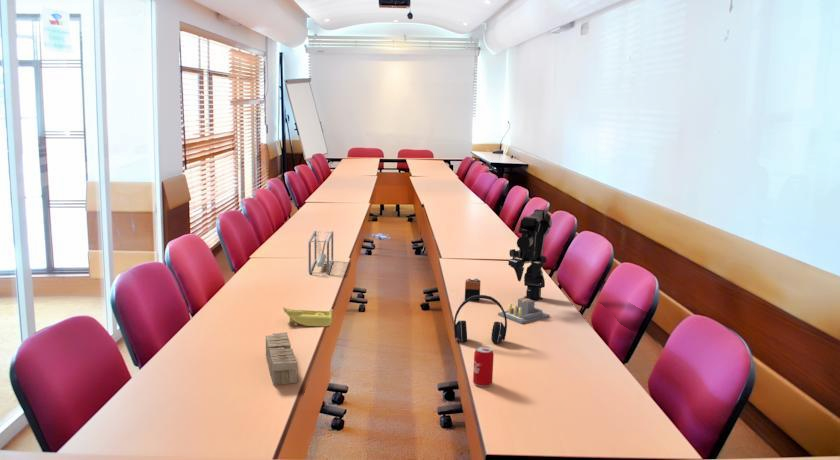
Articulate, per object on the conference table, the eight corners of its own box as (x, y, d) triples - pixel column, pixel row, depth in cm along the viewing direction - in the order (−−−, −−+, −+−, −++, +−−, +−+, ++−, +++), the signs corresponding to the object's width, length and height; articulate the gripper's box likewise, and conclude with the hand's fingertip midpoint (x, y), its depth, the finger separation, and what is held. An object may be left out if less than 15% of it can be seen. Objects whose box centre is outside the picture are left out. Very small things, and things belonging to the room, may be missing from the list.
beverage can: (479, 378, 220) (480, 344, 218) (495, 383, 217) (497, 348, 214) (469, 384, 215) (470, 349, 213) (486, 389, 212) (487, 354, 209)
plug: (523, 310, 290) (524, 297, 289) (533, 314, 285) (534, 300, 284) (517, 312, 288) (517, 298, 286) (527, 316, 283) (528, 302, 282)
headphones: (504, 339, 257) (507, 293, 254) (506, 345, 250) (509, 299, 247) (453, 337, 258) (454, 292, 254) (453, 343, 251) (455, 297, 248)
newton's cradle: (314, 261, 373) (314, 230, 370) (333, 261, 374) (333, 230, 370) (308, 274, 344) (308, 241, 340) (328, 275, 344) (328, 241, 341)
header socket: (525, 308, 296) (526, 296, 295) (549, 317, 286) (550, 304, 285) (498, 315, 286) (498, 302, 285) (521, 324, 275) (522, 311, 274)
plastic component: (331, 311, 277) (333, 308, 268) (330, 329, 276) (332, 326, 266) (283, 309, 274) (283, 306, 264) (281, 327, 272) (281, 324, 262)
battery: (479, 301, 305) (480, 280, 303) (464, 300, 306) (465, 279, 304) (479, 299, 309) (480, 278, 307) (465, 298, 310) (465, 277, 308)
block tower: (265, 356, 236) (272, 387, 209) (264, 333, 235) (271, 362, 208) (287, 354, 239) (297, 385, 211) (287, 332, 237) (297, 359, 210)
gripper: (530, 240, 304) (528, 273, 307) (500, 244, 293) (498, 278, 296) (548, 244, 295) (546, 278, 298) (518, 249, 284) (516, 284, 287)
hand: (526, 279), depth 295 cm, fingers open, 9 cm apart
